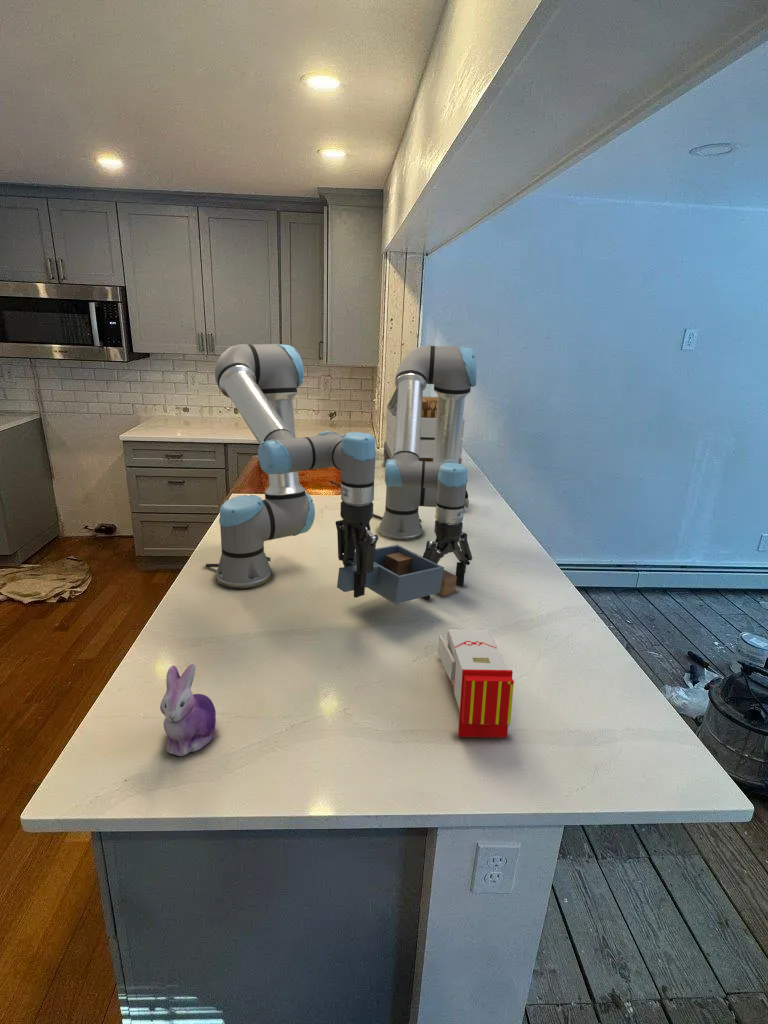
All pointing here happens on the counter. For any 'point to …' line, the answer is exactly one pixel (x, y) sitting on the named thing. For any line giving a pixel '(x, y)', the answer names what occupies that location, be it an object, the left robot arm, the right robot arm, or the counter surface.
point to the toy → (478, 682)
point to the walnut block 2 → (447, 583)
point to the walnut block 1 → (398, 563)
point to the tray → (396, 577)
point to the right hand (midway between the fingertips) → (442, 590)
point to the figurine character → (466, 500)
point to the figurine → (186, 714)
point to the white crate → (426, 429)
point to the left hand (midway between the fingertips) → (354, 592)
